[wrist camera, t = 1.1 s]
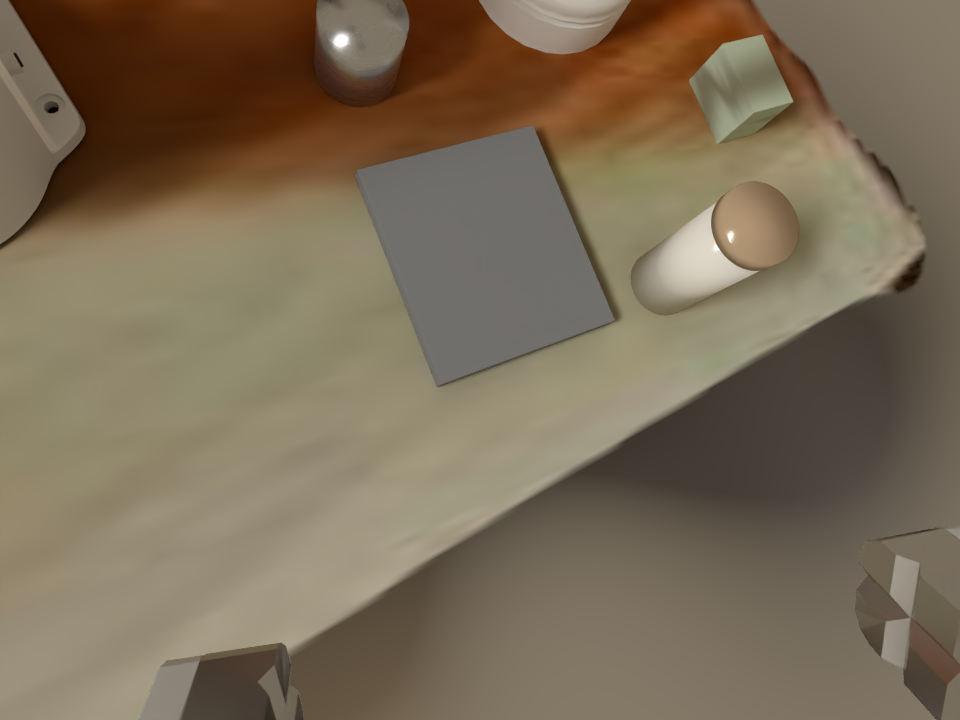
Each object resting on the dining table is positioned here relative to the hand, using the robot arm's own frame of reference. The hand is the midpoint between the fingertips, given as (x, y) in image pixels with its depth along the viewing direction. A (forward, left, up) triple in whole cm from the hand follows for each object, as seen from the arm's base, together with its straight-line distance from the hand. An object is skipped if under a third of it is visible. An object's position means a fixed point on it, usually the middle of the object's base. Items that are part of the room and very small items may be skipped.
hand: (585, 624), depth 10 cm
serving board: (-15, +15, -37) cm, 43 cm away
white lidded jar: (-8, +28, -37) cm, 47 cm away
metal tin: (-31, +11, -37) cm, 50 cm away
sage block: (-21, +40, -37) cm, 59 cm away
